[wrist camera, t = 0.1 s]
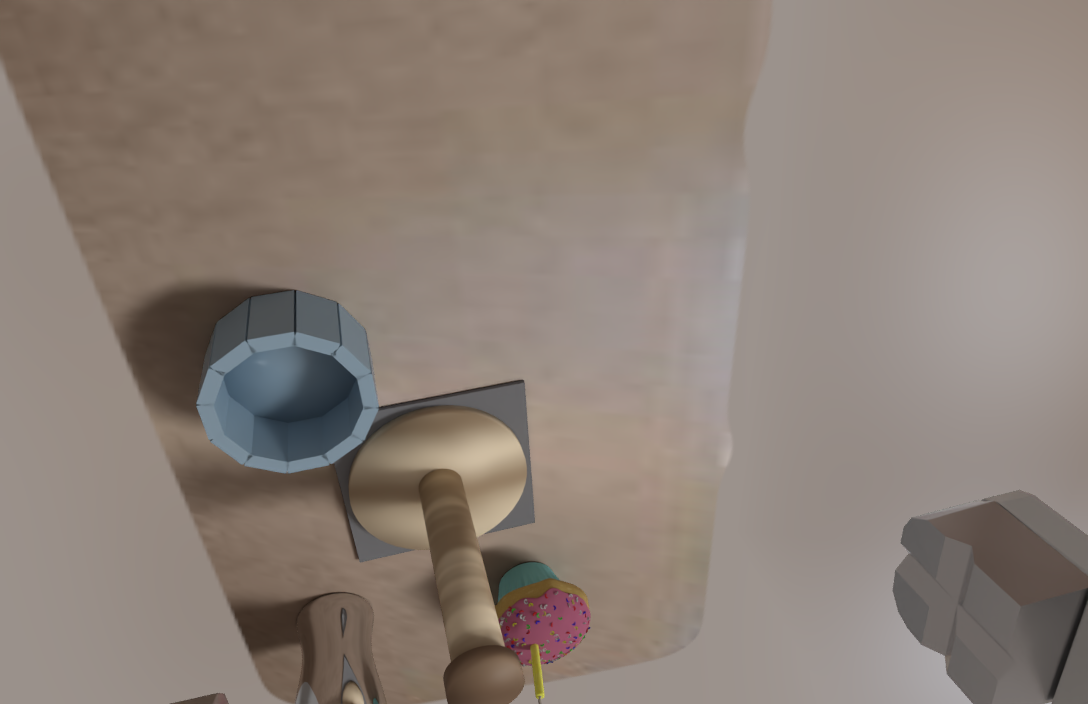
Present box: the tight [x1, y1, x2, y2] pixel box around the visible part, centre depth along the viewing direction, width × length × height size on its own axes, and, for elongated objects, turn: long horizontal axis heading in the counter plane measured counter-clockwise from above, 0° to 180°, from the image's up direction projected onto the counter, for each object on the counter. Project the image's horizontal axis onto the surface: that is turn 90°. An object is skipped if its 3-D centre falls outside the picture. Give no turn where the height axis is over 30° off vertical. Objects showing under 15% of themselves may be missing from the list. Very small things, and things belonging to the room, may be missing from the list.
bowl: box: [196, 290, 379, 474], centre depth 48 cm, size 10×10×5 cm
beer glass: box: [295, 593, 387, 704], centre depth 58 cm, size 7×7×15 cm
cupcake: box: [495, 562, 590, 704], centre depth 62 cm, size 9×8×12 cm
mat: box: [334, 380, 535, 562], centre depth 58 cm, size 14×14×1 cm
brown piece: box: [348, 405, 527, 704], centre depth 51 cm, size 13×13×18 cm
